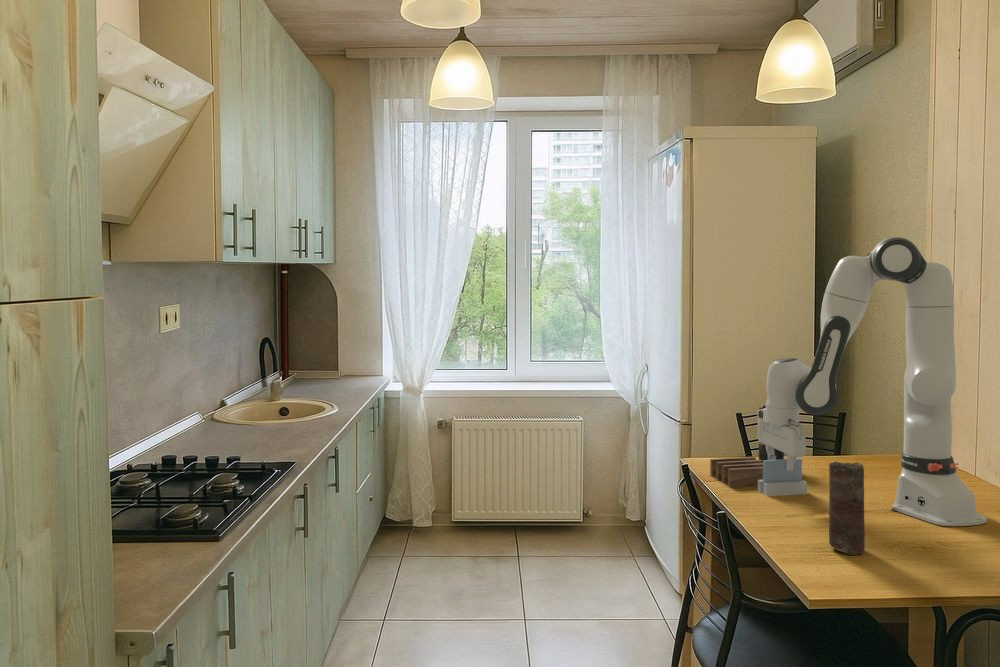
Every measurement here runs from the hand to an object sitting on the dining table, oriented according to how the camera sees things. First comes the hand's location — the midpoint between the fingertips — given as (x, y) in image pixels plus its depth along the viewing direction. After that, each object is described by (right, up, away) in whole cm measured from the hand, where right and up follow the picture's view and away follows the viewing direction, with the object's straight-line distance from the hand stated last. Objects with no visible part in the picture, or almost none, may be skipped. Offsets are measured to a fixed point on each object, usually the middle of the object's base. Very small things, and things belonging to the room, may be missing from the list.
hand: (780, 465), depth 225 cm
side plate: (+1, -7, 0) cm, 7 cm away
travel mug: (+6, -6, +27) cm, 28 cm away
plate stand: (+1, -8, 0) cm, 8 cm away
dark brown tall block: (0, -12, -43) cm, 45 cm away
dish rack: (-7, -7, +13) cm, 17 cm away
